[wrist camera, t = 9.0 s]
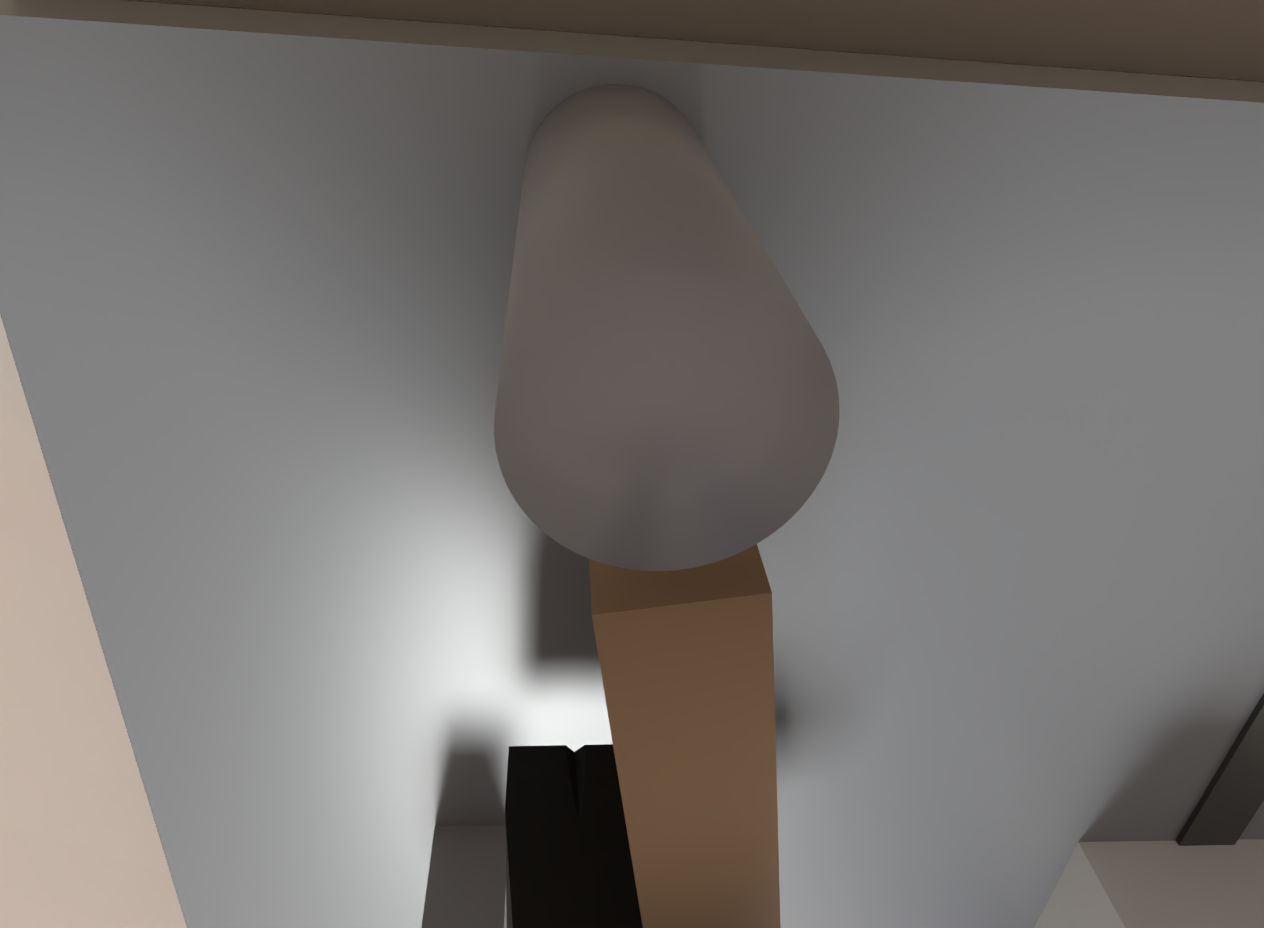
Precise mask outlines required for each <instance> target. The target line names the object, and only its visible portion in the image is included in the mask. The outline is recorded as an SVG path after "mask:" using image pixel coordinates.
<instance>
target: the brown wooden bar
mask: <svg viewBox="0 0 1264 928" xmlns="http://www.w3.org/2000/svg"><path fill="white" fill-rule="evenodd" d="M589 569H590V590H591V610H592V620H593V626H594V632H595V638H596V644H597V650H598V657H599V663H600V669H601V675H602V681H603V687H604V693H605V699H606V705H607V712H608V718H609V724H610V730H611V736H612V742H613V748H614V754H615V760H616V767H617V773H618V779H619V785H620V791H621V797H622V803H623V809H624V815H625V822H626V828H627V834H628V840H629V846H630V852H631V858H632V864H633V870H634V877H635V883H636V889H637V895H638V901H639V907H640V913H641V919H642V925H643V928H781V925H780V886H779V847H778V808H777V769H776V730H775V691H774V652H773V613H772V591H771V588H770V585H769V582H768V578H767V575H766V572H765V569H764V566H763V562H762V559H761V556H760V553H759V549H758V546H757V544H756V545H754V546H753V547H751V548H749V549H746V550H744V551H742V552H740V553H738V554H736V555H734V556H731V557H729V558H726V559H723V560H720V561H717V562H715V563H711V564H707V565H703V566H699V567H695V568H688V569H681V570H673V571H643V570H631V569H626V568H620V567H614V566H610V565H607V564H604V563H600V562H597V561H593V560H591V559H589Z"/></svg>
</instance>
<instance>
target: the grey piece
mask: <svg viewBox="0 0 1264 928" xmlns="http://www.w3.org/2000/svg"><path fill="white" fill-rule="evenodd" d="M0 315H1V318H2V321H3V324H4V328H5V331H6V334H7V338H8V341H9V344H10V347H11V351H12V354H13V357H14V361H15V364H16V367H17V370H18V374H19V377H20V380H21V384H22V387H23V390H24V393H25V397H26V400H27V403H28V407H29V410H30V413H31V416H32V420H33V423H34V426H35V430H36V433H37V436H38V439H39V443H40V446H41V449H42V453H43V456H44V459H45V462H46V466H47V469H48V472H49V476H50V479H51V482H52V485H53V489H54V492H55V495H56V499H57V502H58V505H59V508H60V512H61V515H62V518H63V522H64V525H65V528H66V531H67V535H68V538H69V541H70V545H71V548H72V551H73V554H74V558H75V561H76V564H77V568H78V571H79V574H80V577H81V581H82V584H83V587H84V591H85V594H86V597H87V600H88V604H89V607H90V610H91V614H92V617H93V620H94V623H95V627H96V630H97V633H98V637H99V640H100V643H101V646H102V650H103V653H104V656H105V660H106V663H107V666H108V669H109V673H110V676H111V679H112V683H113V686H114V689H115V692H116V696H117V699H118V702H119V706H120V709H121V712H122V715H123V719H124V722H125V725H126V729H127V732H128V735H129V738H130V742H131V745H132V748H133V752H134V755H135V758H136V761H137V765H138V768H139V771H140V775H141V778H142V781H143V784H144V788H145V791H146V794H147V798H148V801H149V804H150V807H151V811H152V814H153V817H154V821H155V824H156V827H157V830H158V834H159V837H160V840H161V844H162V847H163V850H164V853H165V857H166V860H167V863H168V867H169V870H170V873H171V876H172V880H173V883H174V886H175V890H176V893H177V896H178V899H179V903H180V906H181V909H182V913H183V916H184V919H185V922H186V926H187V928H507V909H506V847H505V800H506V783H507V768H508V753H509V746H550V745H566V746H567V747H569V748H570V749H571V750H573V751H574V752H575V751H576V750H578V749H579V748H581V747H582V746H584V745H603V744H613V742H612V736H611V730H610V724H609V718H608V712H607V705H606V699H605V693H604V687H603V681H602V675H601V669H600V663H599V657H598V650H597V644H596V638H595V632H594V626H593V620H592V610H591V590H590V569H589V559H591V560H593V561H597V562H600V563H604V564H607V565H610V566H614V567H620V568H626V569H631V570H643V571H673V570H681V569H688V568H695V567H699V566H703V565H707V564H711V563H715V562H717V561H720V560H723V559H726V558H729V557H731V556H734V555H736V554H738V553H740V552H742V551H744V550H746V549H749V548H751V547H753V546H754V545H756V544H757V546H758V549H759V553H760V556H761V559H762V562H763V566H764V569H765V572H766V575H767V578H768V582H769V585H770V588H771V591H772V613H773V652H774V691H775V730H776V769H777V808H778V847H779V886H780V925H781V928H1264V82H1254V81H1240V80H1226V79H1212V78H1198V77H1184V76H1170V75H1156V74H1142V73H1128V72H1115V71H1101V70H1087V69H1073V68H1059V67H1045V66H1031V65H1017V64H1003V63H990V62H976V61H962V60H948V59H934V58H920V57H906V56H892V55H878V54H864V53H851V52H837V51H823V50H809V49H795V48H781V47H767V46H753V45H739V44H726V43H712V42H698V41H684V40H670V39H656V38H642V37H628V36H614V35H600V34H587V33H573V32H559V31H545V30H531V29H517V28H503V27H489V26H475V25H462V24H448V23H434V22H420V21H406V20H392V19H378V18H364V17H350V16H336V15H323V14H309V13H295V12H281V11H267V10H253V9H239V8H225V7H211V6H198V5H184V4H170V3H156V2H142V1H128V0H0Z"/></svg>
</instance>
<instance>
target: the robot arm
mask: <svg viewBox="0 0 1264 928" xmlns="http://www.w3.org/2000/svg"><path fill="white" fill-rule="evenodd" d="M505 847H506V909H507V928H643V925H642V919H641V913H640V907H639V901H638V895H637V889H636V883H635V877H634V870H633V864H632V858H631V852H630V846H629V840H628V834H627V828H626V822H625V815H624V809H623V803H622V797H621V791H620V785H619V779H618V773H617V767H616V760H615V754H614V748H613V744H603V745H584V746H582V747H581V748H579V749H578V750H576V751H575V752H574V751H573V750H571V749H570V748H569V747H567V746H566V745H550V746H509V753H508V768H507V783H506V800H505Z"/></svg>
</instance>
